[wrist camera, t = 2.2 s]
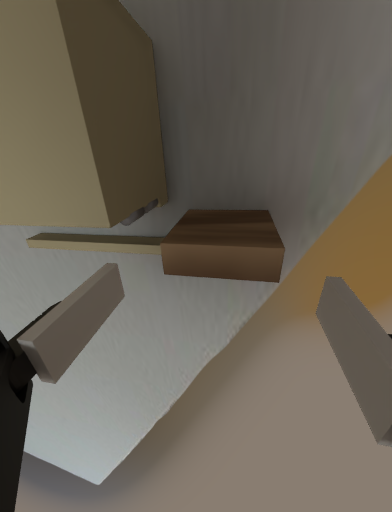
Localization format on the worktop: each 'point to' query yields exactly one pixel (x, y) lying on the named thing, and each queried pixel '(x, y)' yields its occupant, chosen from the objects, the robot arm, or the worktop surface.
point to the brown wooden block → (224, 246)
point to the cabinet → (78, 123)
